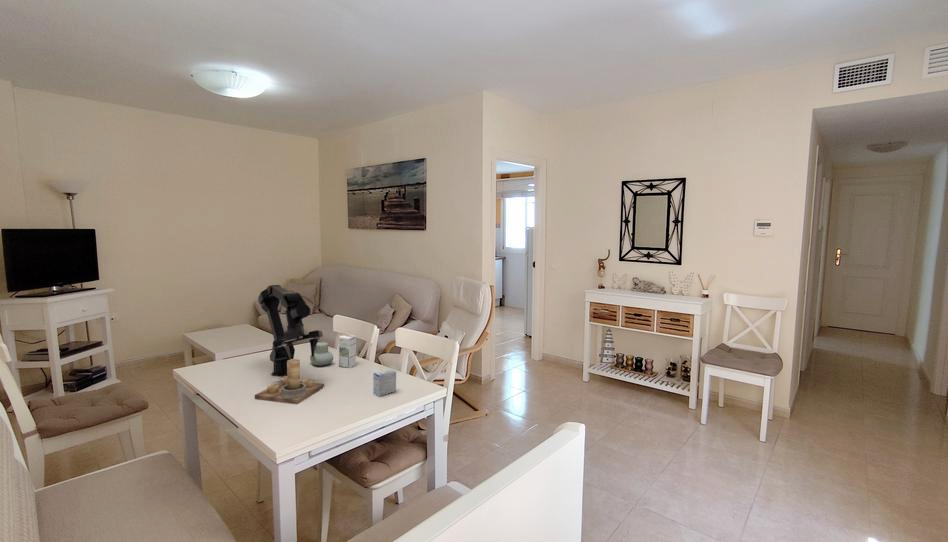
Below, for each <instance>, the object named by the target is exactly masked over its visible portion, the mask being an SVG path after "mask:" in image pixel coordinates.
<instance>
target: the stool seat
mask: <svg viewBox="0 0 948 542" xmlns="http://www.w3.org/2000/svg"><path fill="white" fill-rule="evenodd" d="M323 387H324V388H325V383H323V382H322V383H321V382H314V379H313V378H304V379H302V380H300V389H297V390H288V388H287V376H283V378H282V381H280V382H277V383H270V384H268V385H266V389H264V390H261V391H259V392H257V393H256V394H254V400H260V399H261V401H270V402H276V403H277V402H279V403H287V404H294V405H298V404H300V403H301V402H303V401H304V399H305V400H306V399H307V398H309V397H311V396H312V394H313V395H314V394H316V393H317V392H319V391H320V389H321V390H322V389H324V388H323ZM315 392H316V393H315Z"/></svg>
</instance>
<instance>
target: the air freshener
mask: <svg viewBox="0 0 948 542" xmlns="http://www.w3.org/2000/svg"><path fill="white" fill-rule="evenodd" d="M309 356H310V357H309V359H310V362H311V364H312V365H314V366H316V367H320V366H328V365H330V364H331V363H332V362H333V361H334V355H333V353H332V352H331V351H329V343H328V342H325V341H323V342H317V345H316V349H315V354H314V357H312V354H311V355H309Z"/></svg>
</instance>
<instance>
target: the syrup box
mask: <svg viewBox="0 0 948 542" xmlns="http://www.w3.org/2000/svg"><path fill="white" fill-rule="evenodd" d="M338 347H339V348H338V350H339V351H338V353H339V354H338V358H339V359H338V361H339V363H338V364H339V365H338V366H339V367H340V368H346V367H347V368H348V369H351V368H353V367H355V366H357V365H356V364H357V348H356V347H357V337H356V335H353V334H343V335H340V336H339V337H338ZM354 365H355V366H354ZM352 366H353V367H352ZM350 367H351V368H350Z"/></svg>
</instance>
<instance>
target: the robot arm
mask: <svg viewBox="0 0 948 542" xmlns="http://www.w3.org/2000/svg"><path fill="white" fill-rule="evenodd" d="M257 299H258V300H257V302H258V304H259V305H260V307H261V309H262V310H263V311H264V312H266V316H267V318H268V322H269V325H270V330H271V332H272V336H273V341H272V347H271V349H272V350H271V352H270V354H269V361H270V362H273V371H272V373H271V376H278V377H279V376H281V377H285V376H287V361H288V360H292V359H295V358H294V357H295V351H296V349H295V346H294V344H293V343H295V342H299V341H300V342H301V341H305V340H308V341H309V344H310V352H311V355H312V357H314V354H315V349H316V345H317V343H319V342H318V341H320V340H321V338H323V337H324V334H323V331H322V330H320V329H319V330H317V329H316V330H312V331H308V333H307V334H306V333H305V329H304V327H305V323H303V319H305V318H307V317H309V315H310V314H311V308H310V306H309V305H308V304H306V301H305V299H303V296H302V295H301V294H300V293H299V292H297V291H289V290H287V289H286V288H283V287H282V286H281V285H279V284H270V285H268V286H267V288H266V289H264V290H262V291H261V292H260V293H259V295H258V297H257ZM280 305H281V306H282V307H283V308H284V309H286V310H285V311H284V314H285V317H286V321H287V322H286V323H287V326H286V330H284V326H283V322H282V319H281V316H280V312H279V309H278V308H279V306H280ZM284 375H285V376H284Z"/></svg>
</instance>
